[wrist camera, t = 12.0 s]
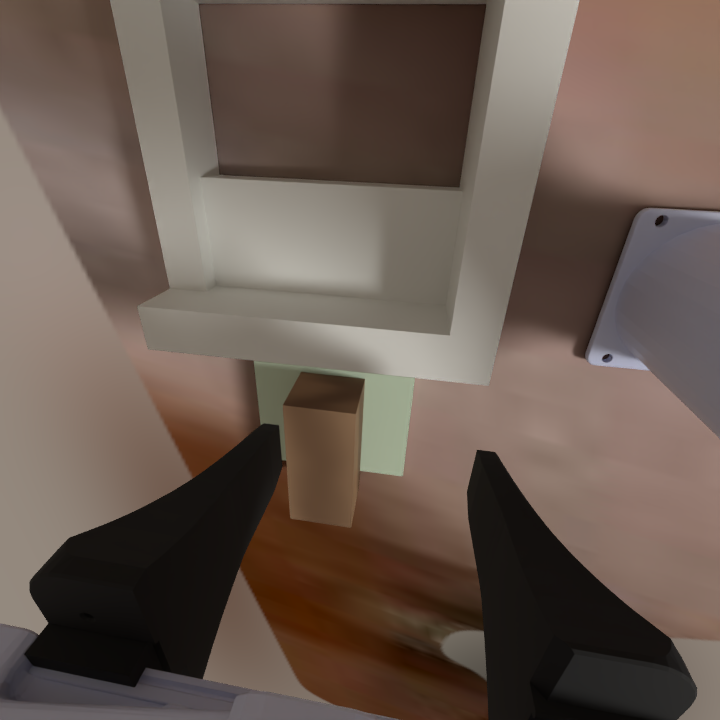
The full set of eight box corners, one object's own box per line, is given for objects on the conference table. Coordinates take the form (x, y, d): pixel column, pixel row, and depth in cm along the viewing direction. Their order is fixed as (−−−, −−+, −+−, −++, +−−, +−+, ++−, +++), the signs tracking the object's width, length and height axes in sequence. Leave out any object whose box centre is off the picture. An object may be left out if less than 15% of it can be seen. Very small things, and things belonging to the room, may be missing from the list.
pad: (415, 373, 23) (414, 378, 23) (403, 470, 27) (402, 476, 27) (257, 356, 25) (253, 360, 24) (267, 452, 28) (264, 457, 28)
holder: (555, -77, 14) (626, -200, 9) (474, 332, 22) (488, 385, 17) (143, -68, 16) (15, -168, 11) (205, 308, 23) (148, 349, 19)
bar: (365, 379, 23) (356, 414, 20) (359, 485, 28) (350, 527, 25) (301, 371, 24) (282, 405, 21) (305, 477, 28) (290, 518, 25)
